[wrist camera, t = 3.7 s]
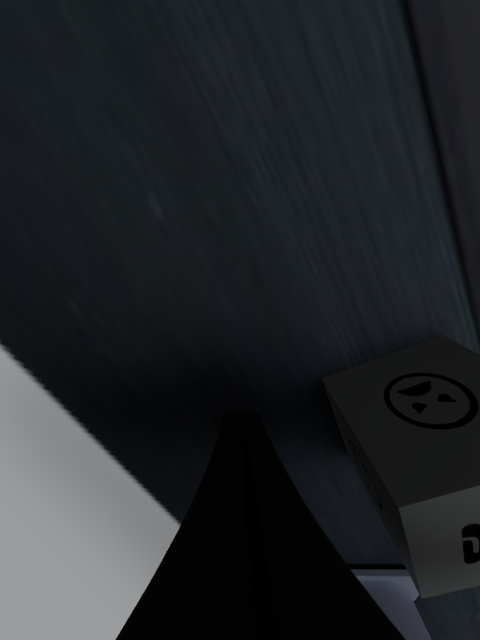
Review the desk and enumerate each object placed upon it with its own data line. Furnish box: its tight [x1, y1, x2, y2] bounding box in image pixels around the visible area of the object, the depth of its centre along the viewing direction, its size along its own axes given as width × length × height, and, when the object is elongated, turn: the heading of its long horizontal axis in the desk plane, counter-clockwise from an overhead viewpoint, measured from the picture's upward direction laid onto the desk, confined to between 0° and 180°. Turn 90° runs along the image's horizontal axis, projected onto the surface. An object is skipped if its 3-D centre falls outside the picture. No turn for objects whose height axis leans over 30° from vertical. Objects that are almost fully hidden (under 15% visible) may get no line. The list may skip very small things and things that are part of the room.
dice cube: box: [322, 335, 480, 599], centre depth 8 cm, size 5×5×5 cm
